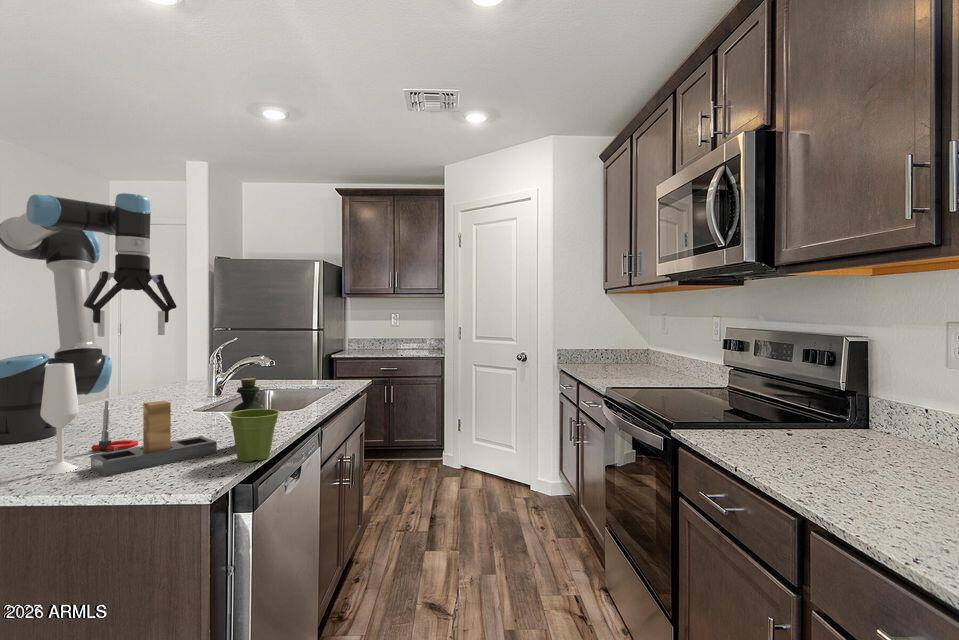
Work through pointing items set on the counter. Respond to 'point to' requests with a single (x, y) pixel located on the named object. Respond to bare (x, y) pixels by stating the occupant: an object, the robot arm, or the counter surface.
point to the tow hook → (105, 442)
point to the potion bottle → (248, 395)
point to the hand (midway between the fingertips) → (132, 335)
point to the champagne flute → (59, 407)
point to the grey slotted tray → (151, 456)
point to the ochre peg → (156, 426)
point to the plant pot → (253, 432)
